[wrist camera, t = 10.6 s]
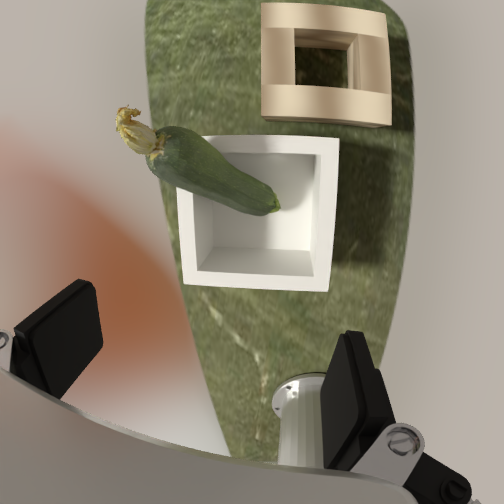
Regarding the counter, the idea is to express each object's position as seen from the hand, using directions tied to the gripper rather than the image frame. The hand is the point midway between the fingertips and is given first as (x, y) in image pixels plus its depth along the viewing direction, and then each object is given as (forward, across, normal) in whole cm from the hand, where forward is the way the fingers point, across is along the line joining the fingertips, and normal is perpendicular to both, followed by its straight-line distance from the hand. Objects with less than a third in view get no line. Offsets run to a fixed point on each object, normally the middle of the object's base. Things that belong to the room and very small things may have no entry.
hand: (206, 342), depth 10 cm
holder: (+25, -4, -16) cm, 30 cm away
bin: (+25, 0, -1) cm, 25 cm away
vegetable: (+24, -1, -1) cm, 24 cm away
